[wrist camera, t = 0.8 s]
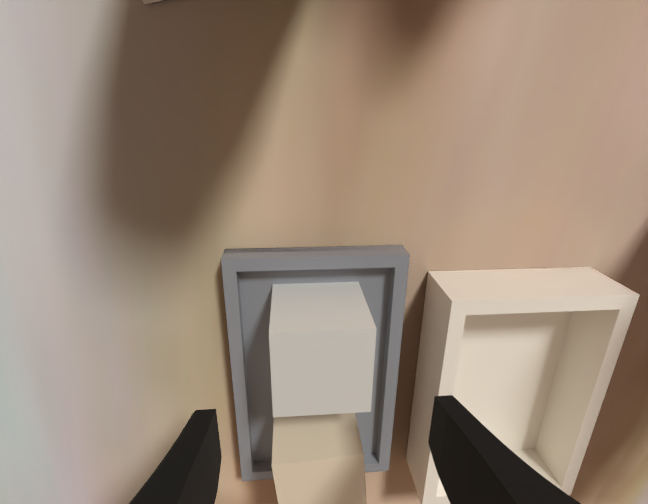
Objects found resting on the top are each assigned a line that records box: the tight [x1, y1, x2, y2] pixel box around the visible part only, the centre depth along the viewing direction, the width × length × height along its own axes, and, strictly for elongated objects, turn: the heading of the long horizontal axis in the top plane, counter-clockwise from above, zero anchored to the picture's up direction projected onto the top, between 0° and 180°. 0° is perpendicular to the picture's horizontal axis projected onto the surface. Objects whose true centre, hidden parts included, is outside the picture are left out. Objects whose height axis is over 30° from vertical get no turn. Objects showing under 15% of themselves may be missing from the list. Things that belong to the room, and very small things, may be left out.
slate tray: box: [221, 245, 410, 481], centre depth 20 cm, size 8×13×1 cm, turn 0°
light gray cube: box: [269, 282, 377, 418], centre depth 17 cm, size 4×4×4 cm
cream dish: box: [406, 267, 640, 504], centre depth 20 cm, size 8×12×3 cm
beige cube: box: [272, 413, 367, 504], centre depth 19 cm, size 4×4×4 cm
